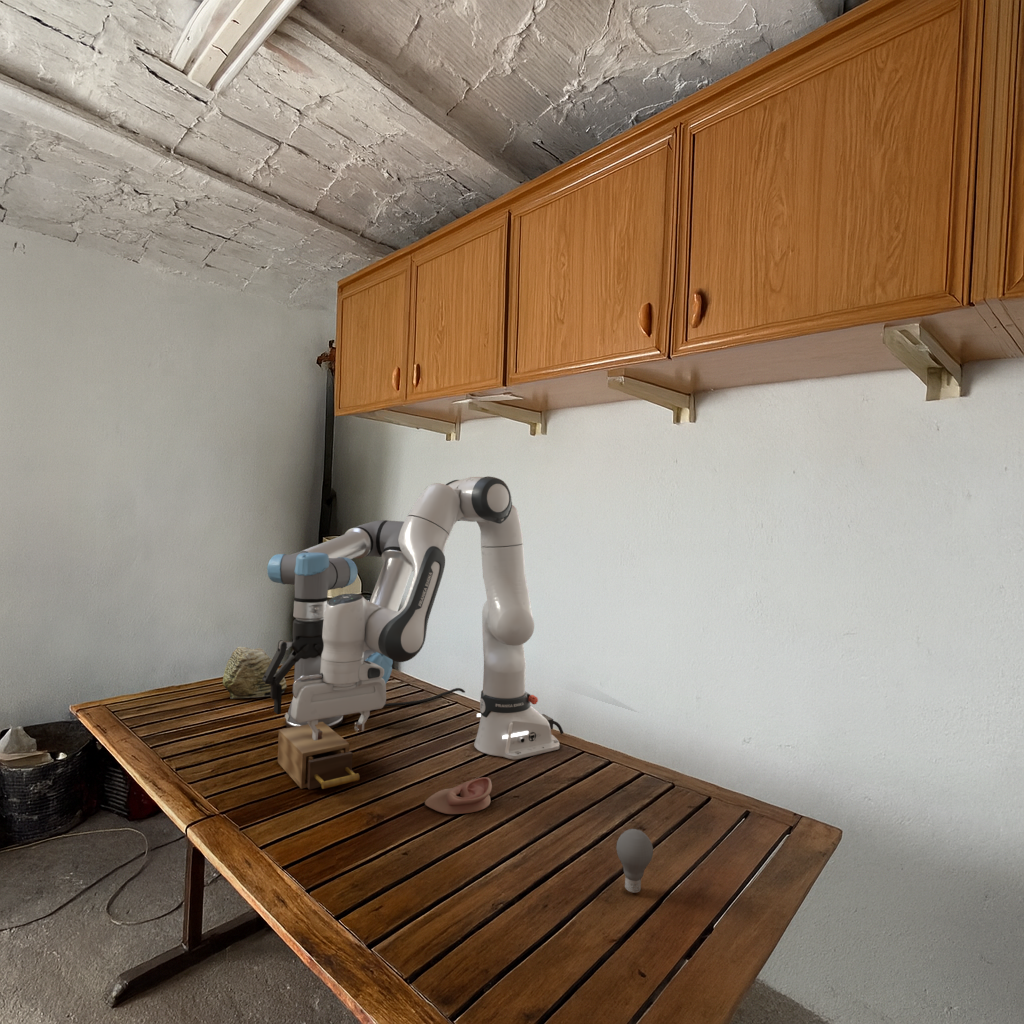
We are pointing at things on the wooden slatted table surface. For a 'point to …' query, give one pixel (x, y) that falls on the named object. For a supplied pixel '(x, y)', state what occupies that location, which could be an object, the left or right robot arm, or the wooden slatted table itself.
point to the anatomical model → (462, 797)
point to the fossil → (248, 673)
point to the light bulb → (634, 857)
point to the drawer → (329, 769)
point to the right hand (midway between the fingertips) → (338, 735)
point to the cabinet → (305, 748)
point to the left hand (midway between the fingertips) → (306, 707)
